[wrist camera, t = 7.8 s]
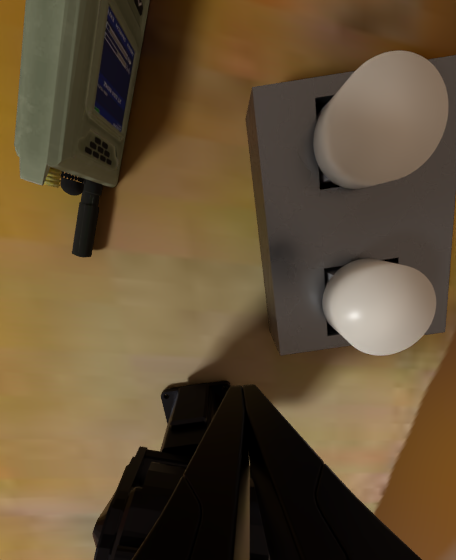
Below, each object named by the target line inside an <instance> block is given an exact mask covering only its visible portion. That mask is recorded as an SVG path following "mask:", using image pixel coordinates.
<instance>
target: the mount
mask: <svg viewBox="0 0 456 560" xmlns="http://www.w3.org/2000/svg"><path fill="white" fill-rule="evenodd" d="M428 61H429V62H431V63H432V64H433V65H434V66H435V68H436V69H437V70H438V71H439V73H440V75H441V77H442V78H443V81H444V84H445V86H446V90H447V94H448V118H447V123H446V127H445V130H444V133H443V136H442V138H441V140H440V142H439V144H438V146H437V148H436V149H435V151H434V152H433V153H432V155H431V156H430V157H429V159H428V160H427V161H426V162H425V163H424V164H423V165H422V166H420V167H419V168H418V169H417V170H415V171H414V172H412V173H411V174H409V175H407V176H405V177H402V178H400V179H397V180H393V181H389V182H385V183H382V184H378V185H374V186H370V187H366V188H362V189H349V188H344V187H336V188H329V189H322V190H320V183H319V166H318V163H317V161H316V158H315V154H314V146H313V139H314V131H315V127H316V116H317V114H318V113H319V112H320V111H321V110H322V108H323V107H324V106H325V105H326V104H327V103H328V102H329V101H330V100H331V99H332V97H333V96H334V95H335V94H336V93H337V92H338V90H339V89H340V88H341V87H342V86H343V85H344V83H345V82H346V81H347V80H348V79H349V77H350V76H351V75H352V74H353V73H354V72H355V71H352V72H346V73H340V74H333V75H327V76H321V77H314V78H308V79H302V80H295V81H289V82H283V83H276V84H270V85H264V86H257V87H252V91H251V96H250V100H249V105H248V110H247V115H246V126H247V135H248V144H249V153H250V162H251V170H252V179H253V188H254V197H255V206H256V214H257V223H258V232H259V241H260V250H261V258H262V267H263V276H264V285H265V294H266V303H267V311H268V320H269V329H270V333H271V335H272V337H273V340H274V342H275V344H276V347H277V349H278V351H279V353H280V355H287V354H294V353H301V352H308V351H315V350H322V349H329V348H336V347H343V346H350V345H351V344H350V343H349V342H348V341H347V340H346V339H345V338H344V337H343V336H342V335H340V334H339V333H338V332H337V331H336V330H335V329H334V328H333V327H332V326H331V325H329V324H328V323H327V319H326V317H325V315H324V312H323V306H322V299H323V294H324V290H325V280H324V268H330V267H337V266H344V265H346V264H348V263H350V262H353V261H356V260H359V259H367V258H370V259H378V260H385V259H388V262H392V263H396V264H401V265H405V266H409V267H412V268H414V269H416V270H418V271H420V272H421V273H423V274H424V275H425V276H426V277H427V278H428V279H429V281H430V282H431V284H432V286H433V288H434V291H435V295H436V311H435V315H434V318H433V320H432V323H431V325H430V326H429V328H428V330H427V331H426V333H425V334H424V335H428V334H435V333H442V332H445V327H446V313H447V300H448V287H449V273H450V260H451V247H452V234H453V220H454V207H455V194H456V55H453V56H447V57H441V58H434V59H428Z"/></svg>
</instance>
